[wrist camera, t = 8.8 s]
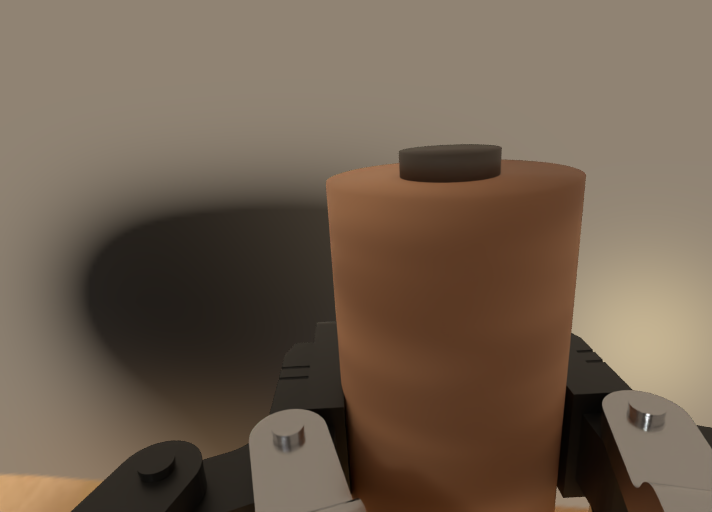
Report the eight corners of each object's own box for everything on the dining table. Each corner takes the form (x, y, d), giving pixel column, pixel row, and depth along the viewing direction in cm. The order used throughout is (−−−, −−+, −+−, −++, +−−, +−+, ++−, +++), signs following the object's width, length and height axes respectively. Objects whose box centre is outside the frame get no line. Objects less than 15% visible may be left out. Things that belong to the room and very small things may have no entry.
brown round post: (290, 831, 9) (179, 187, 5) (347, 548, 15) (313, 142, 11) (630, 904, 8) (804, 167, 4) (549, 570, 14) (591, 129, 10)
